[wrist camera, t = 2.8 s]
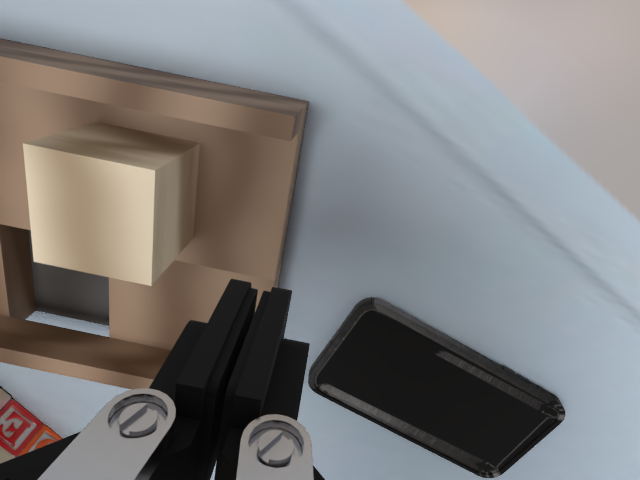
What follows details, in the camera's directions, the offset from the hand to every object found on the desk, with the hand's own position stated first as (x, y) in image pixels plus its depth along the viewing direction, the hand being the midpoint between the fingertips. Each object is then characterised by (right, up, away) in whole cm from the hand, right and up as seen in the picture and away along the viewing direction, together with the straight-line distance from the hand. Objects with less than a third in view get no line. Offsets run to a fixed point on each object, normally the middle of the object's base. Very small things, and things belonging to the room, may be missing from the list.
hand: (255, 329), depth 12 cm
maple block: (-7, +5, +10) cm, 13 cm away
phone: (+9, -7, +17) cm, 21 cm away
